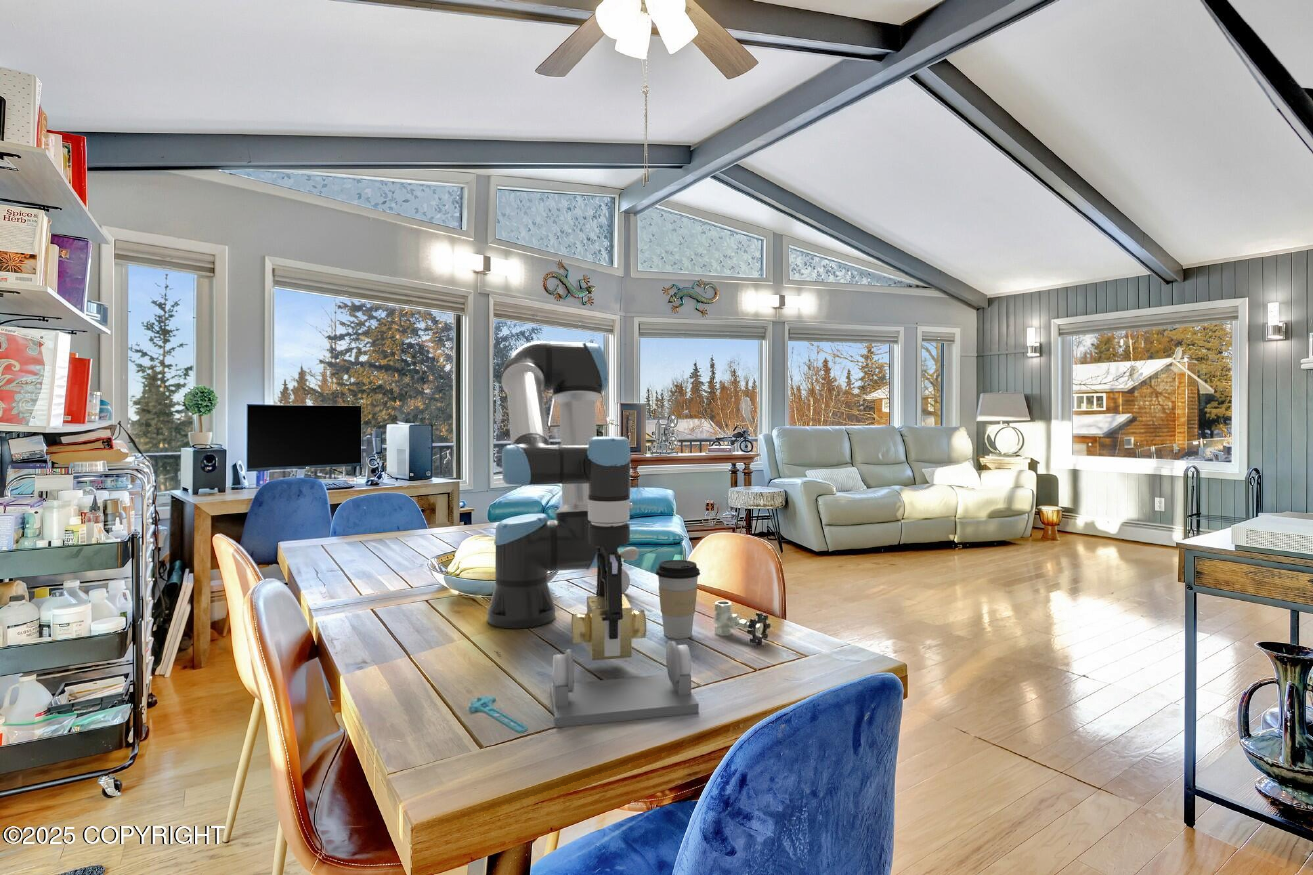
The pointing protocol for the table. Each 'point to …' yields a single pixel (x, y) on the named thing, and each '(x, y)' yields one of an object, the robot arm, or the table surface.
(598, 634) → the brass gate valve
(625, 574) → the perfume bottle
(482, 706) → the adjustable wrench
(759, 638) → the valve
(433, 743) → the table surface
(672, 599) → the coffee cup
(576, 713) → the pipe run plate
